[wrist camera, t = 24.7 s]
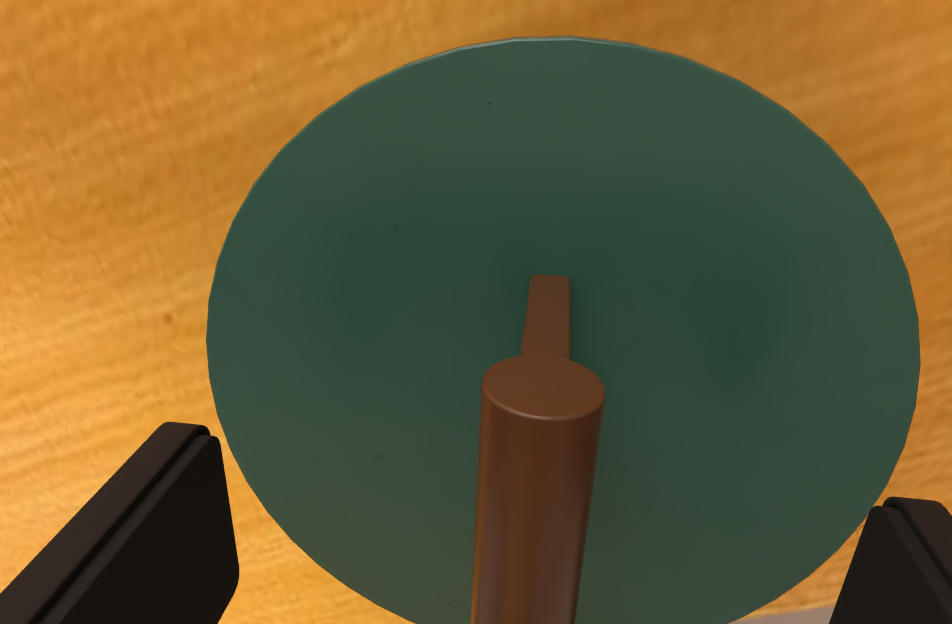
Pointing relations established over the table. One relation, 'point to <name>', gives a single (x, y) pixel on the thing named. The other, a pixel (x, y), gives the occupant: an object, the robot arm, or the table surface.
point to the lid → (563, 339)
